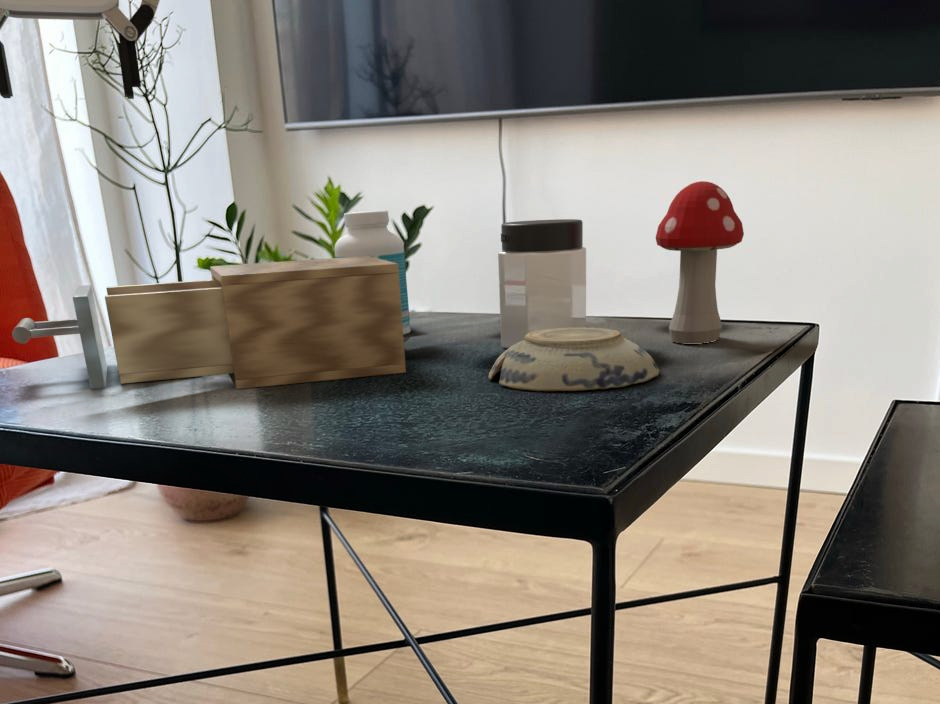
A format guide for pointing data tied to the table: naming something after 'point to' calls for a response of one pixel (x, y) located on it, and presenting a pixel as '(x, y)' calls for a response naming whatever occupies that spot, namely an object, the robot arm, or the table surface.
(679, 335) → the decorative mushroom
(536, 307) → the jar
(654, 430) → the table surface
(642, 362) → the decorative bowl
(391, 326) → the cabinet
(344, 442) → the table surface
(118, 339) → the drawer
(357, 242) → the pill bottle
